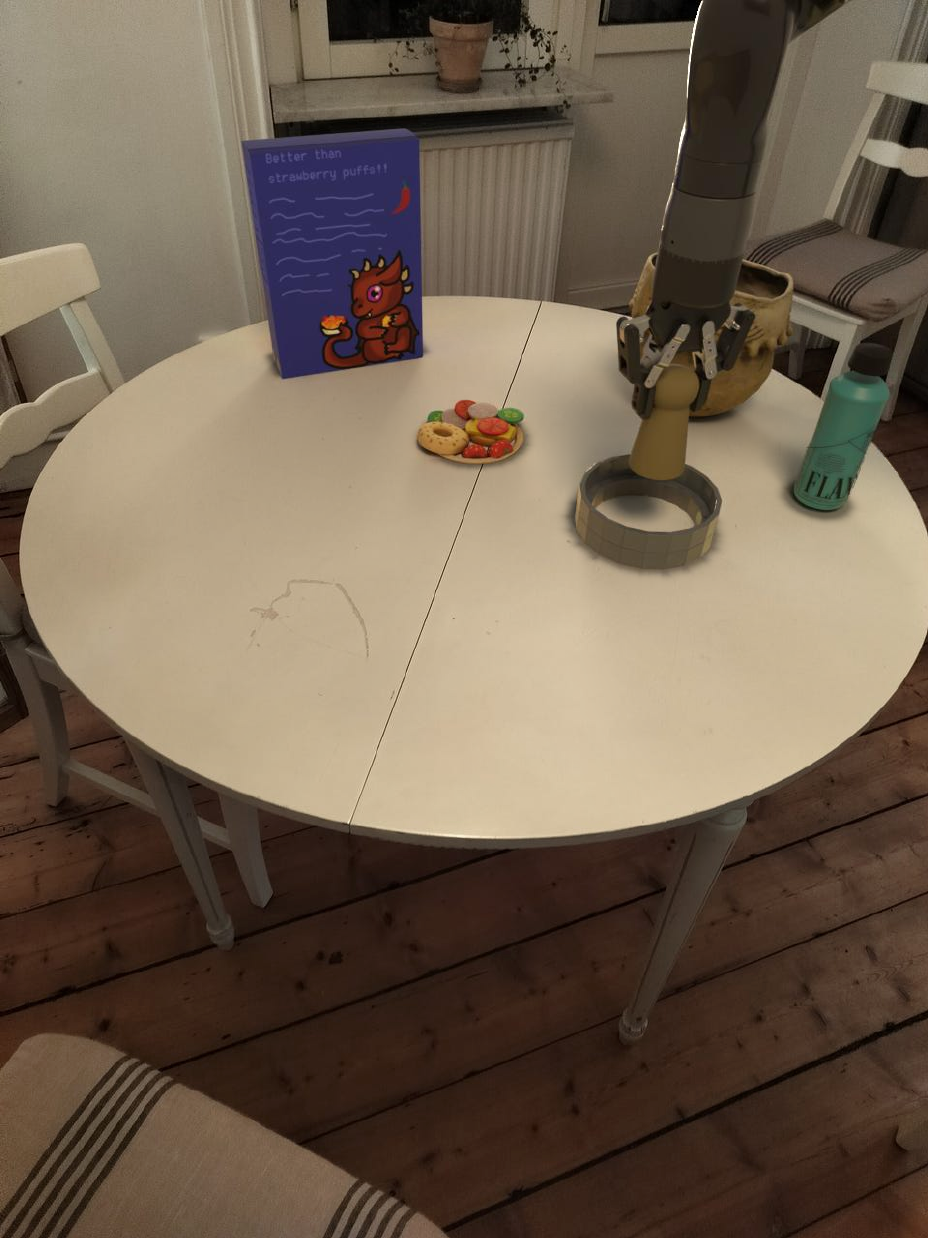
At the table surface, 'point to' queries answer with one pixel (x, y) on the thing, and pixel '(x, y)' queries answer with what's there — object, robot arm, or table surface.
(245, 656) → the table surface
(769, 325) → the clay pot
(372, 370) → the table surface
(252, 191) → the cereal box
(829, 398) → the beverage bottle
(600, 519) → the tiled ring wall
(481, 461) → the toy food set
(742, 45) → the robot arm
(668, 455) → the tan game pawn
